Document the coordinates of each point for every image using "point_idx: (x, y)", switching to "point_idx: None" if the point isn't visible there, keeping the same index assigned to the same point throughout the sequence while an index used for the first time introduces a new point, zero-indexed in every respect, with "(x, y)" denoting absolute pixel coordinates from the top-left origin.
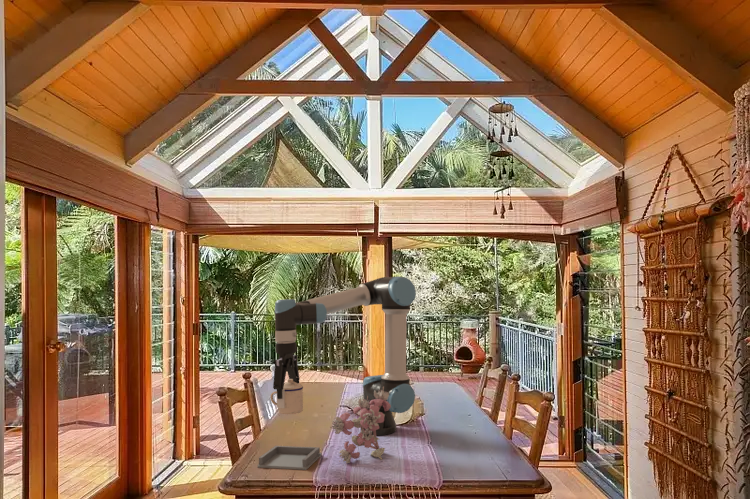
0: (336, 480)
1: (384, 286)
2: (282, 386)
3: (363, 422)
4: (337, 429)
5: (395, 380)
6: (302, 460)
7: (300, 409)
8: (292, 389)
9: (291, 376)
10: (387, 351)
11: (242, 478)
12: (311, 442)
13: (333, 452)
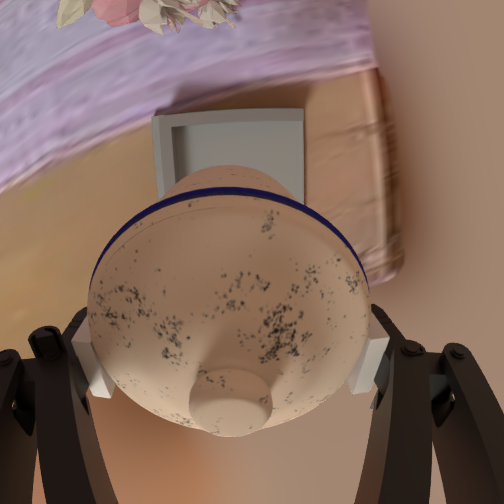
0: (359, 12)
1: None
2: (415, 359)
3: None
4: (182, 8)
5: None
6: (303, 120)
7: (246, 168)
8: (356, 264)
9: (90, 444)
10: None
11: (378, 255)
12: (51, 215)
13: (118, 95)
